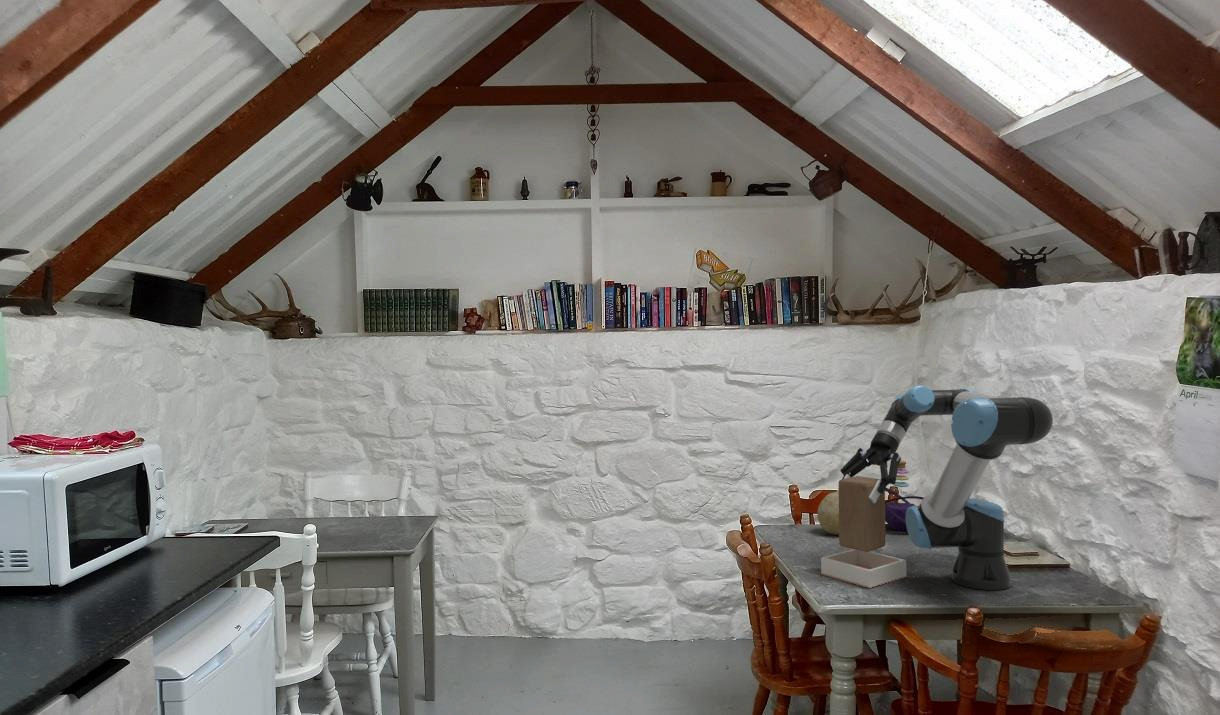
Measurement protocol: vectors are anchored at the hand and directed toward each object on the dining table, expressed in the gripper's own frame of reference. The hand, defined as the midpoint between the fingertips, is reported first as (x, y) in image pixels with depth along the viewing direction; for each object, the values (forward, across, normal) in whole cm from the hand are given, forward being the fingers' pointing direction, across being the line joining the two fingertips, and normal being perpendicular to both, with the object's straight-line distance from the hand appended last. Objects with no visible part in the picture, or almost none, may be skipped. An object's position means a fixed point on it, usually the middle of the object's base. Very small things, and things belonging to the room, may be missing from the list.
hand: (855, 497), depth 225 cm
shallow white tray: (+15, -1, -18) cm, 24 cm away
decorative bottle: (-25, +25, -59) cm, 69 cm away
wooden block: (+9, 0, -13) cm, 16 cm away
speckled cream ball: (-8, +35, -42) cm, 55 cm away
